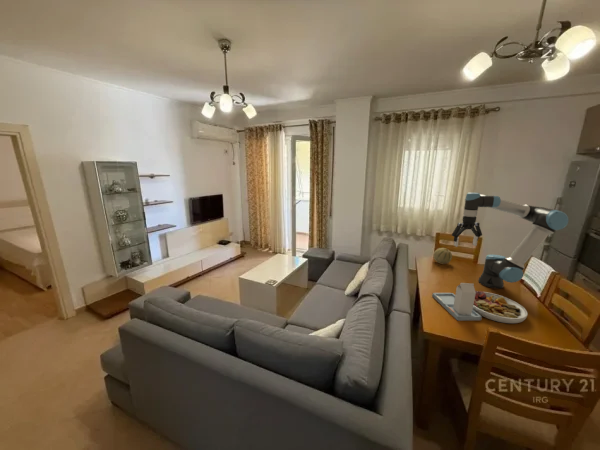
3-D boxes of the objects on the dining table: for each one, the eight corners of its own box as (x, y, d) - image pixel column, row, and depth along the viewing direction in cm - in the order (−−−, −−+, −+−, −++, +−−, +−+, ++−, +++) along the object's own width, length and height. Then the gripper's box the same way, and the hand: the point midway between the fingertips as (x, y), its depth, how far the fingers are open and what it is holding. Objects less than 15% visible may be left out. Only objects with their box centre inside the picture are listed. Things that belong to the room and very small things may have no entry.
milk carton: (471, 315, 144) (477, 286, 139) (458, 314, 145) (463, 285, 140) (465, 308, 151) (470, 281, 146) (453, 307, 152) (457, 280, 147)
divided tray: (451, 295, 168) (452, 292, 167) (481, 320, 142) (481, 316, 141) (432, 296, 167) (432, 292, 167) (457, 320, 141) (458, 316, 141)
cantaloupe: (433, 258, 233) (435, 244, 229) (451, 262, 225) (453, 247, 221) (431, 264, 221) (433, 248, 218) (450, 267, 213) (452, 251, 210)
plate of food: (534, 316, 146) (537, 304, 144) (512, 333, 132) (515, 320, 130) (478, 293, 171) (481, 283, 169) (455, 305, 157) (457, 294, 155)
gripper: (483, 214, 167) (478, 243, 172) (448, 215, 166) (444, 244, 171) (492, 216, 160) (486, 246, 165) (455, 217, 158) (451, 248, 163)
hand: (465, 245), depth 168 cm, fingers open, 13 cm apart
